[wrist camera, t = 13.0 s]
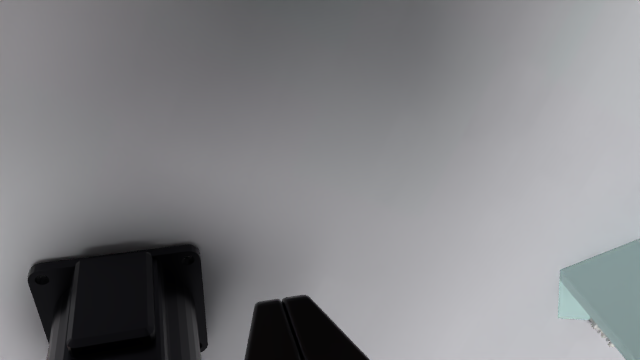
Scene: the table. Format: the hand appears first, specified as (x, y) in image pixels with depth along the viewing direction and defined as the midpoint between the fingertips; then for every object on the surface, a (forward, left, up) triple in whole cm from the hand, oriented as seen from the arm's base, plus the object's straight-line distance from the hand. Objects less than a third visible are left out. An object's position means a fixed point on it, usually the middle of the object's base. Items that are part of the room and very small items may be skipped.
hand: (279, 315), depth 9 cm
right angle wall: (-18, -26, -12) cm, 34 cm away
